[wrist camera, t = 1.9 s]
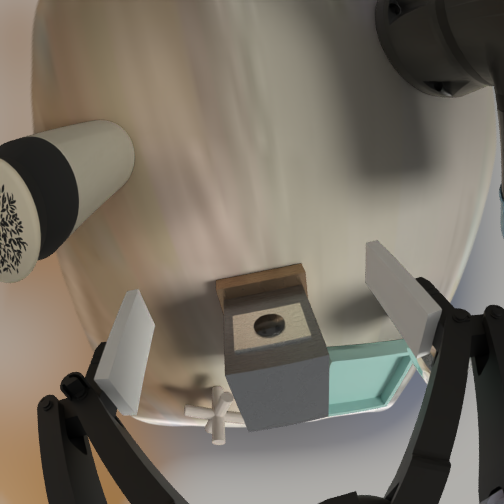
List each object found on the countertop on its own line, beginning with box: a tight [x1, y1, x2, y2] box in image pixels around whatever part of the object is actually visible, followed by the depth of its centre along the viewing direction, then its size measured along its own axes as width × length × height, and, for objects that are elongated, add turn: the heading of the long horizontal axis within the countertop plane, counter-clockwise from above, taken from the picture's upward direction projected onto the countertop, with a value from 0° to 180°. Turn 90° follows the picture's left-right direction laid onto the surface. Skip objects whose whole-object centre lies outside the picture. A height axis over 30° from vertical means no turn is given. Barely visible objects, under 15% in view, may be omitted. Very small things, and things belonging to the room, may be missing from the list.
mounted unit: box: [216, 264, 329, 432], centre depth 32 cm, size 13×10×13 cm
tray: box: [327, 339, 413, 417], centre depth 45 cm, size 16×16×3 cm
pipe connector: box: [184, 386, 245, 445], centre depth 40 cm, size 10×10×10 cm
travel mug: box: [0, 120, 135, 283], centre depth 19 cm, size 8×8×18 cm
